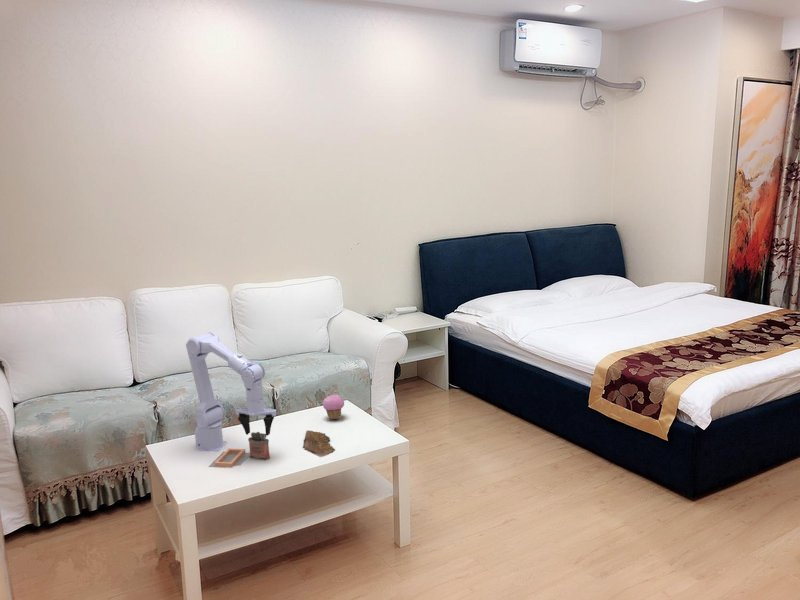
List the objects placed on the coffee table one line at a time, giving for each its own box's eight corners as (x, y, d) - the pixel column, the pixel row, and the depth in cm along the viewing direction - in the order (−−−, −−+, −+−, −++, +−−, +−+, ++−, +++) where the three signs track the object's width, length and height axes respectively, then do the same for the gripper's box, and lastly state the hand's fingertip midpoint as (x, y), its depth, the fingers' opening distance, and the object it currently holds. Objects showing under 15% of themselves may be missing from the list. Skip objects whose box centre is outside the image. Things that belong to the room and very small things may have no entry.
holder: (208, 468, 216) (208, 462, 215) (223, 452, 227) (223, 447, 227) (237, 469, 214) (237, 464, 213) (251, 454, 225) (251, 449, 225)
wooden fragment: (337, 454, 222) (336, 452, 221) (307, 462, 219) (307, 459, 218) (324, 427, 246) (323, 425, 245) (297, 434, 243) (296, 431, 242)
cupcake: (345, 413, 261) (344, 391, 259) (344, 421, 252) (342, 399, 250) (324, 414, 261) (323, 392, 259) (322, 422, 252) (321, 399, 250)
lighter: (247, 459, 222) (245, 433, 220) (253, 454, 225) (251, 429, 223) (266, 462, 219) (264, 436, 217) (272, 458, 222) (270, 432, 220)
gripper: (230, 401, 214) (234, 437, 217) (270, 403, 212) (273, 439, 215) (239, 394, 221) (242, 429, 224) (277, 395, 219) (280, 431, 221)
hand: (258, 433), depth 220 cm, fingers open, 7 cm apart
